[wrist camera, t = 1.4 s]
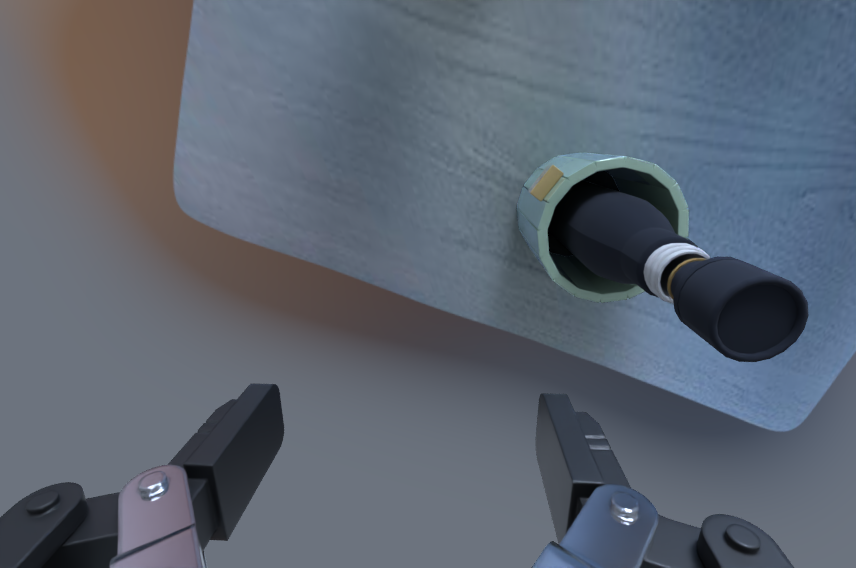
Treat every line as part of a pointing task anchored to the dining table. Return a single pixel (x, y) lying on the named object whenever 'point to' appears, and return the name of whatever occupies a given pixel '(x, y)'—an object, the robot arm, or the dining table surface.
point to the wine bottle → (680, 273)
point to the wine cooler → (556, 182)
